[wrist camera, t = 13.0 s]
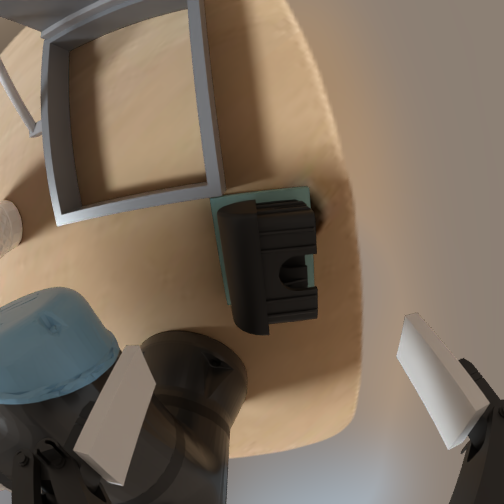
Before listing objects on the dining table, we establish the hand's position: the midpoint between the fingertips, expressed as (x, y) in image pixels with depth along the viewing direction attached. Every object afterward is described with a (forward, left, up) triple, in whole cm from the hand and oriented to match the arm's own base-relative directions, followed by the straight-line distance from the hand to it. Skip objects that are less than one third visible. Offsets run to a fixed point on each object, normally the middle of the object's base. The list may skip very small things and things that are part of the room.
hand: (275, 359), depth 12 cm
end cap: (0, 0, -15) cm, 15 cm away
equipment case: (+17, +12, -16) cm, 27 cm away
